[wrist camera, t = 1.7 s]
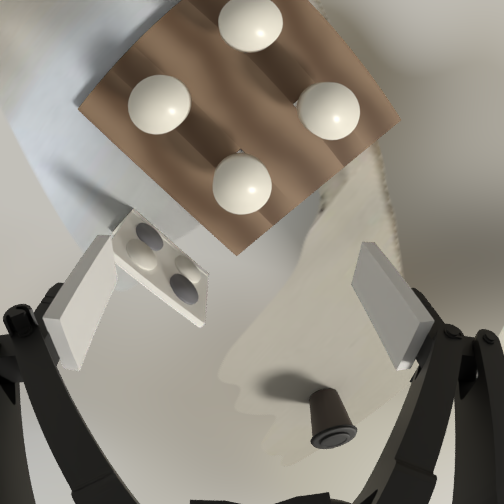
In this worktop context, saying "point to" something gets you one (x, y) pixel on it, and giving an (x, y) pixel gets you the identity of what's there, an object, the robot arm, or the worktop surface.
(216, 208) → the board
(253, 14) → the button
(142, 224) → the card
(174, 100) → the button
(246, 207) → the button
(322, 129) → the button
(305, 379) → the worktop surface
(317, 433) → the coffee cup
